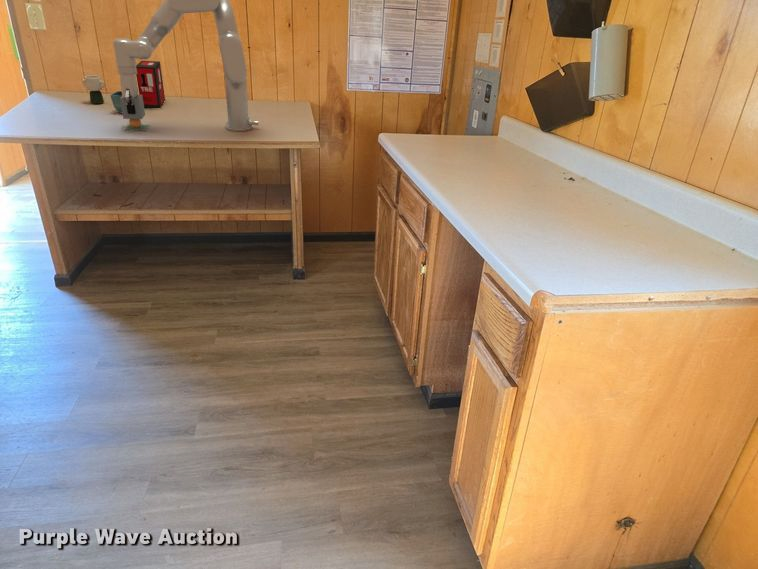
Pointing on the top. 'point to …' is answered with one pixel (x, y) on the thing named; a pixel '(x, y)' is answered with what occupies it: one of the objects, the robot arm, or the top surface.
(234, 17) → the robot arm
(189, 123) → the top surface
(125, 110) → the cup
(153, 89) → the cleaning product box
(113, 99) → the flower pot
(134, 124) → the ball
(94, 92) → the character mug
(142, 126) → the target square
